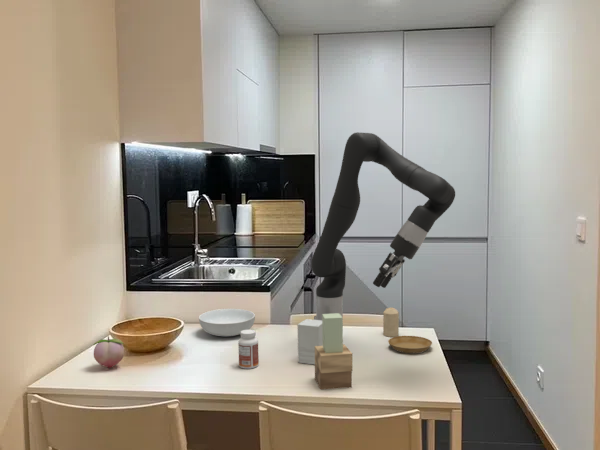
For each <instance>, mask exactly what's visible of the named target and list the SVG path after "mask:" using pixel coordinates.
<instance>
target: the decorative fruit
mask: <svg viewBox="0 0 600 450" xmlns="http://www.w3.org/2000/svg"><path fill="white" fill-rule="evenodd" d="M94 345H95V346H94ZM93 346H94V349H93V358H94V360H95V361H96V362H97V363H98V364H99V365H101V366H103V367H106V368H108V369H110V368H112V367H114V366H115V365H118V364H119V363H120V362H121V361H122V360H123V358H124V355H125V348H124V342H123V341H122V340H121V339H118V338H110V336H107V338H106V339H98V340H97V341H95V342H94V343H93Z"/></svg>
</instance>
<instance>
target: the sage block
mask: <svg viewBox="0 0 600 450" xmlns="http://www.w3.org/2000/svg"><path fill="white" fill-rule="evenodd" d="M343 320H344V319H342V316H341V315H340V314H339V313H334V314H322V335H323V349H324V351H325V353H336V352H343V344H344V343H343V342H344V340H343V339H344V337H343V332H344V329H343V326H344V325H343V324H344V323H343V322H344V321H343Z"/></svg>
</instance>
